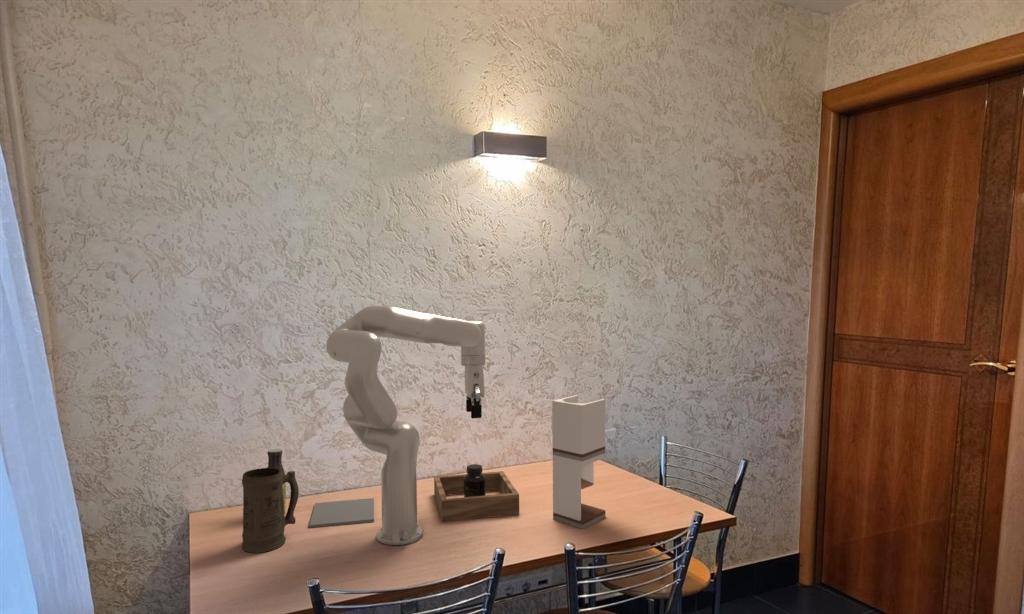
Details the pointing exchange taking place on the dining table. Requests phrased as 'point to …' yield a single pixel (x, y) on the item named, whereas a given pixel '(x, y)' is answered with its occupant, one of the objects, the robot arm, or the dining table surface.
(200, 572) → the dining table surface
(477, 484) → the supplement bottle
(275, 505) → the beer stein
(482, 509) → the crate
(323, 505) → the mat
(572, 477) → the white notched column
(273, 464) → the sauce bottle
